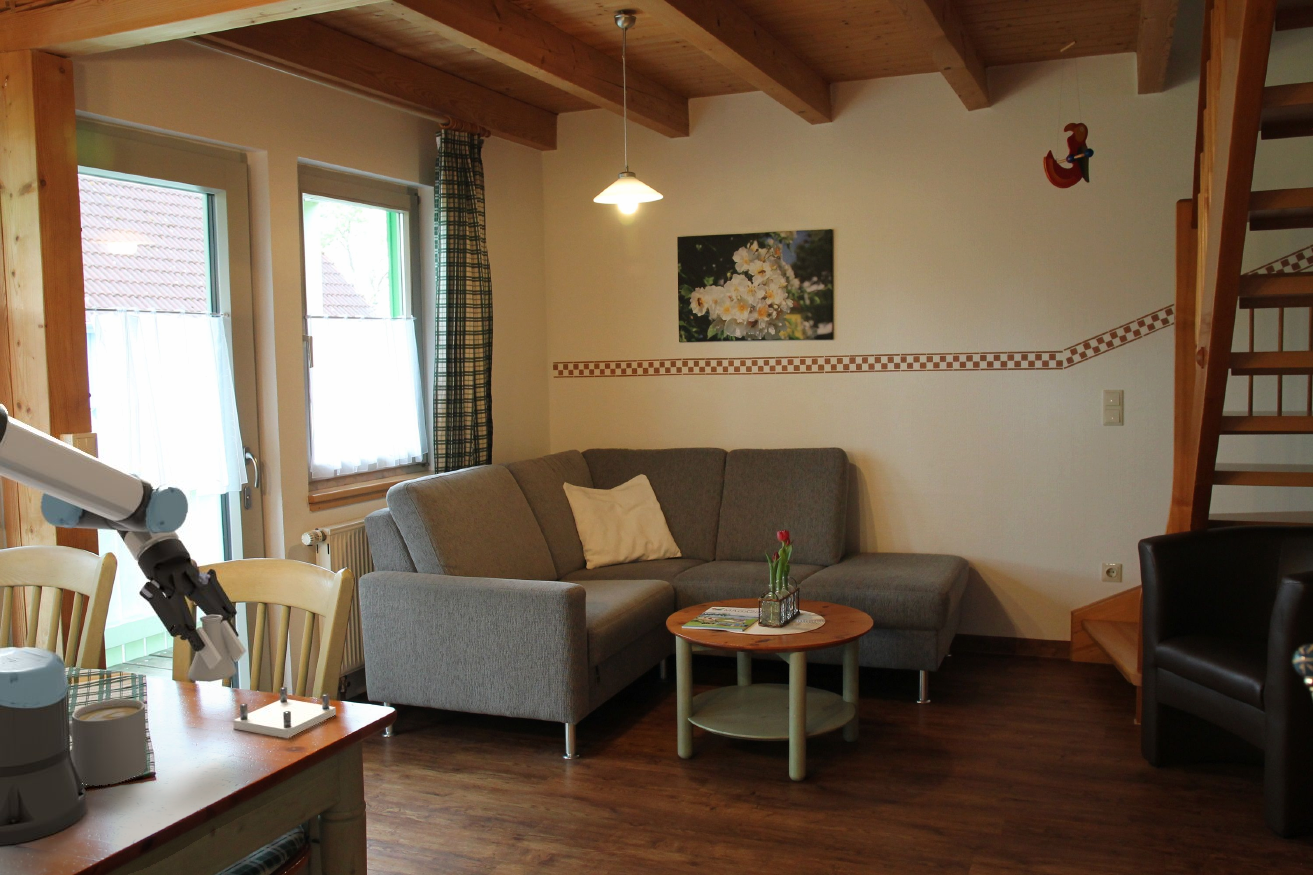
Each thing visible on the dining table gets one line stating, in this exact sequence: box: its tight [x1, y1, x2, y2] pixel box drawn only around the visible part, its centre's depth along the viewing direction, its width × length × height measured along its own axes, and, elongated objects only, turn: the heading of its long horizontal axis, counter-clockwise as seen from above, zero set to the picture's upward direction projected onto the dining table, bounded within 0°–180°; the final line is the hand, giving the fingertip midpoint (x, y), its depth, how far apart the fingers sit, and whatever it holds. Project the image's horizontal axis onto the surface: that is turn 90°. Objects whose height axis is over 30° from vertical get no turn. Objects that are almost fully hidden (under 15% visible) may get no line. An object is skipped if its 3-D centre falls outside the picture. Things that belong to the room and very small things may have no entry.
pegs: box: [239, 686, 330, 728], centre depth 179 cm, size 11×11×2 cm
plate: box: [233, 698, 337, 739], centre depth 179 cm, size 12×12×2 cm
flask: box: [186, 615, 238, 683], centre depth 167 cm, size 7×7×10 cm
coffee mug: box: [69, 698, 148, 787], centre depth 157 cm, size 13×10×10 cm
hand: (228, 659), depth 166 cm, fingers closed on flask, 4 cm apart
